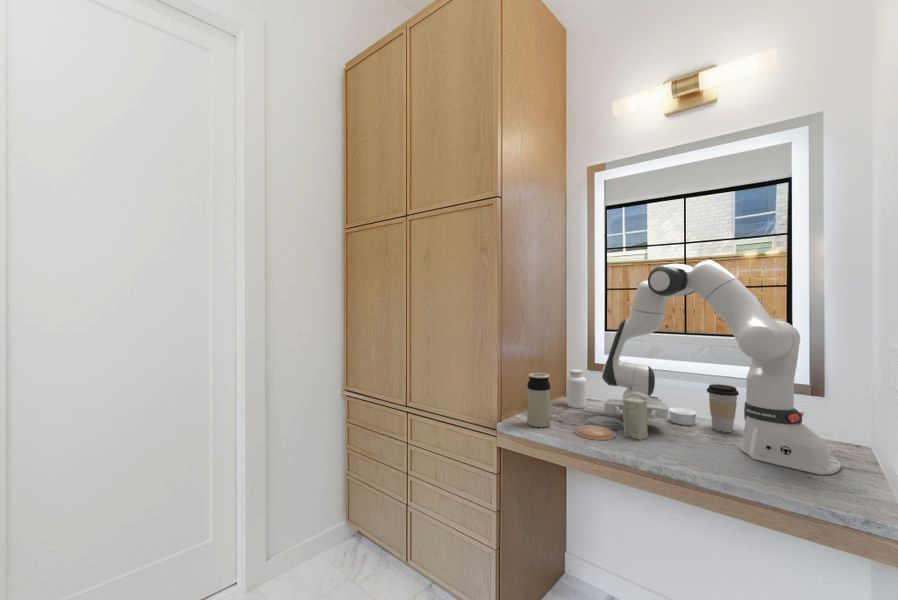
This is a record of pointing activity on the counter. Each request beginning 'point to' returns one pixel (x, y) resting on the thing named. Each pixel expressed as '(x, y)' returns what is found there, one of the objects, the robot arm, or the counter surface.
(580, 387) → the pill bottle
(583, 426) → the terracotta dish
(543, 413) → the travel mug
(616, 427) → the slate dish
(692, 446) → the counter surface
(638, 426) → the skincare box
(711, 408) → the coffee cup
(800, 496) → the counter surface
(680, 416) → the ramekin
